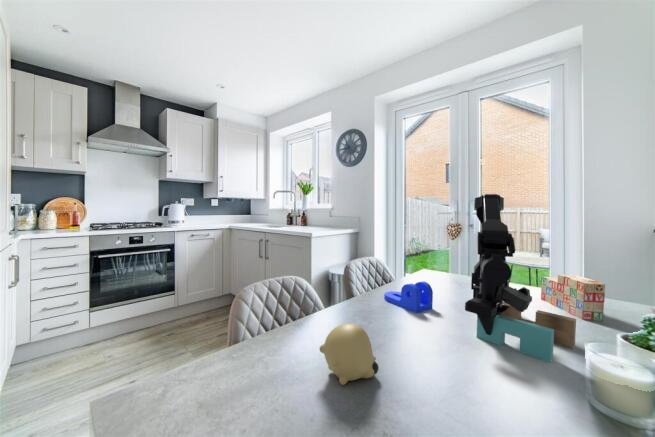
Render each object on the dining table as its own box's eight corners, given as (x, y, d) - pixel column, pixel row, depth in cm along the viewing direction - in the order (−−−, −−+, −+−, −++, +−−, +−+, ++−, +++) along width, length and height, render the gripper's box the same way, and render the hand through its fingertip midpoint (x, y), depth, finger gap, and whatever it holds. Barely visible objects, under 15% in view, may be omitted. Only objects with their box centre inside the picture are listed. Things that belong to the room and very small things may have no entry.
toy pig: (361, 407, 53) (397, 362, 56) (325, 371, 49) (364, 326, 52) (339, 377, 62) (370, 340, 65) (306, 345, 58) (341, 307, 61)
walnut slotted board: (487, 323, 86) (488, 300, 85) (490, 321, 87) (491, 299, 87) (573, 348, 70) (574, 321, 70) (575, 345, 72) (576, 318, 72)
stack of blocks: (540, 299, 111) (541, 268, 110) (557, 300, 110) (558, 269, 110) (582, 320, 90) (584, 282, 89) (604, 321, 89) (605, 283, 88)
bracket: (432, 309, 98) (433, 283, 97) (416, 313, 93) (416, 287, 93) (395, 295, 113) (395, 273, 113) (379, 298, 109) (380, 275, 108)
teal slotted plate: (476, 337, 76) (477, 311, 76) (480, 334, 77) (481, 309, 77) (550, 362, 63) (551, 332, 63) (552, 358, 65) (554, 329, 65)
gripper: (516, 288, 62) (513, 357, 62) (539, 276, 74) (537, 334, 74) (464, 278, 70) (463, 338, 71) (493, 269, 82) (491, 321, 83)
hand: (490, 333), depth 74 cm, fingers closed on teal slotted plate, 2 cm apart
